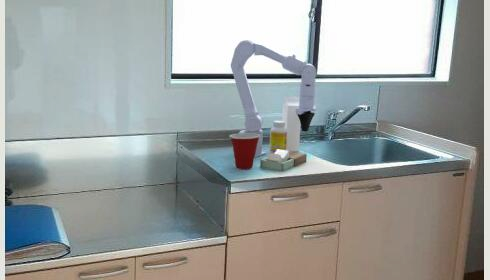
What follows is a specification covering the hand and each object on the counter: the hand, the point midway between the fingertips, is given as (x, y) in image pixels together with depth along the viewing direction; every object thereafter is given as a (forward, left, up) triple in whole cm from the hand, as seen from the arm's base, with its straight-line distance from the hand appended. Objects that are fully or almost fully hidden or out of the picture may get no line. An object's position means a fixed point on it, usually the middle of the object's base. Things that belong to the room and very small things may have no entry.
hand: (304, 131), depth 208 cm
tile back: (-1, -18, -8) cm, 20 cm away
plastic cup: (-10, -29, -11) cm, 33 cm away
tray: (-1, -21, -10) cm, 23 cm away
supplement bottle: (-11, 0, -11) cm, 15 cm away
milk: (-10, +8, -11) cm, 17 cm away
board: (-1, -11, -10) cm, 15 cm away
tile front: (-1, -22, -7) cm, 23 cm away
